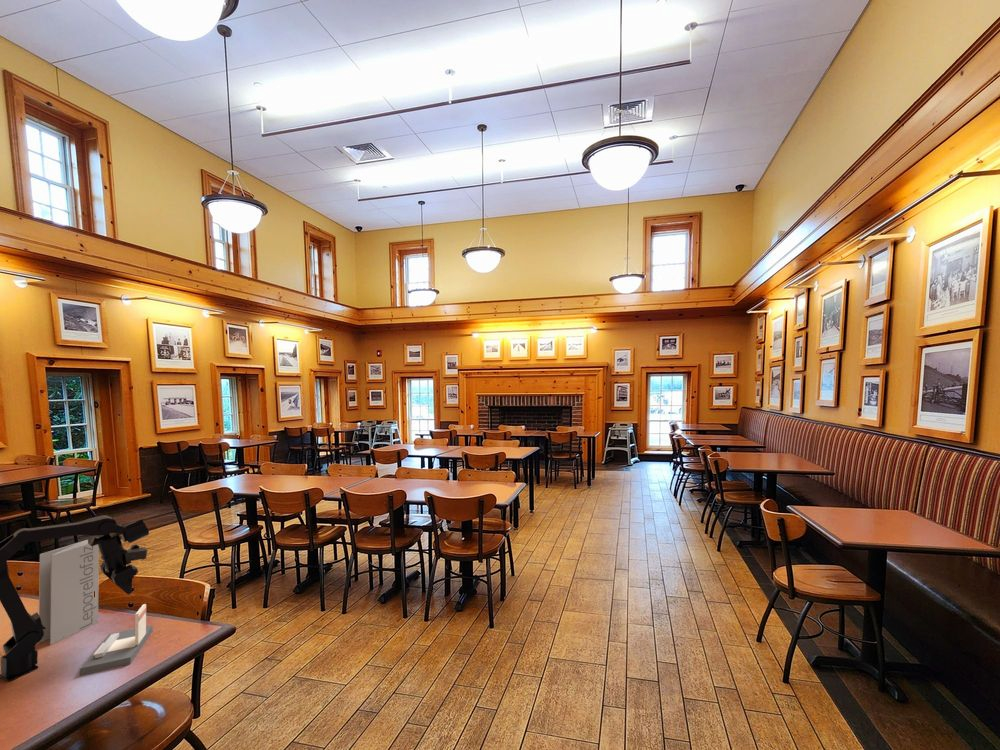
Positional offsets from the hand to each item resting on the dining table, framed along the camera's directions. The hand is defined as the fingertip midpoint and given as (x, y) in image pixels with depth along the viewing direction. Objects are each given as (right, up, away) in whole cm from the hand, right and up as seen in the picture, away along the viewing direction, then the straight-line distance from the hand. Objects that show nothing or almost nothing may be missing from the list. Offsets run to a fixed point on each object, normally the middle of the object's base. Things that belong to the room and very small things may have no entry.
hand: (125, 590), depth 149 cm
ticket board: (+8, -14, -11) cm, 20 cm away
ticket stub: (+13, -12, -9) cm, 20 cm away
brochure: (-21, -16, +1) cm, 26 cm away
